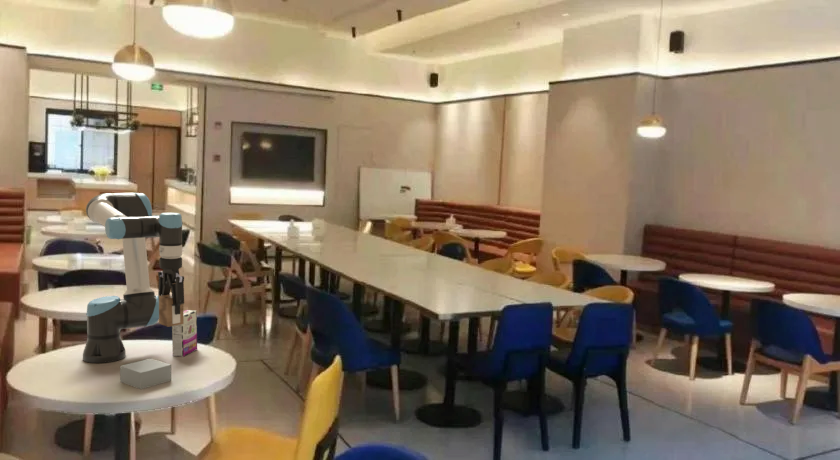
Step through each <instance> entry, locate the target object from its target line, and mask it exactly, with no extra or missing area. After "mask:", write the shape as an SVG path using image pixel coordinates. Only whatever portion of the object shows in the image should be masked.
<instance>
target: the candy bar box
mask: <svg viewBox="0 0 840 460" xmlns="http://www.w3.org/2000/svg"><path fill="white" fill-rule="evenodd" d="M197 315H198V314H197V310H191V309H186V310H183V319H184V324H181V325H175V326H171V331H172V332H171V337H172V338H171V342H172V344H171V345H172V356H173V357H181V358H184V357H185V356H188V355H190V354H191V353H193V352H195V351H197V350H198V329H197V328H198V323H197V322H198V321H197V318H198V317H197Z"/></svg>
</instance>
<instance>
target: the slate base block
mask: <svg viewBox="0 0 840 460" xmlns="http://www.w3.org/2000/svg"><path fill="white" fill-rule="evenodd" d="M119 376H120V379H119V381H120V383H122V384H125V385H128V386H131V387H133V388H136V389H140V390H144V389H148V388H150V387H154V386H157V385H161V384H163V383H164V384H165V383H167V382H170V381H172V364H170V363H167V362H164V361H161V360H158V359H153V358H152V357H151V358H146V359H143V360H138V361H135V362H134V361H133V362H130V363H127V364H122V365H120V366H119Z"/></svg>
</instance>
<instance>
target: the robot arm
mask: <svg viewBox="0 0 840 460" xmlns="http://www.w3.org/2000/svg"><path fill="white" fill-rule="evenodd" d="M85 213H86V216H87V218H89V220H90V221H92V222H93V223H94V224H95V223H96V224H98V225H99V224H100V225H102V226H103V227H104V229H105V235H106V237H107V238H108V239H110V240H122V250H123V251H122V252H123V263H124V274H125V282H126V283H125V285H126V291H125V292H124V293H123V294H122V299H121V298H120V296H118V295H107V296H101V297H97V298H94V299H92V300H90V301H89V302H88V303H87V305H86V333H87V339H86V342H85V346H84V349H83V352H82V361H84V362H86V363H90V364H91V363H92V364H104V363H105V364H106V363H111V362H116V361H120V360H122V359H124V358H126V354H127V353H126V352H127V351H126V348H125V345H124V342H123V340H122V338H121V331H122V330H125V329H126V330H127V329H134V328H143V327H144V328H146V327H149V326H155V324H158V323H159V296H162V295H169V294H172V298H173V304H172V324H175V323H180V305H181V304H183V305H184V304H185V288H184V287H185V286H184V282H185V276H184V275H180V271H179V270H180V269H181V268H183V257H182V256H183V217H182V214H181V213H179V212H161V213H160V214H155V215H153V208H152V203H151V201H150V199H149V197H148V196H147V194H145V193H143V192H140V193H139V192H114V193H113V192H112V193H111V192H105V193H104V192H103V193H101V194H97V195H95V196H94V197H92V198H90V200H89V201H88V203H87V204H86V206H85ZM146 238H158V239H159V241H158V243H159V248H158V251H159V256H160V258H159V262H158V263H159V268H160V269H162V270H161V271H157V275H158V289H157V290H158V295H155V290H153V288H151V287H150V286H151V285H150V284H151V283H150V275H149V264H148V255H147V254H148V253H147V244H146V243H147V241H146Z"/></svg>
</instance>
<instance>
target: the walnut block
mask: <svg viewBox="0 0 840 460" xmlns="http://www.w3.org/2000/svg"><path fill="white" fill-rule="evenodd" d="M172 304H173V298H172V293H170V294H169V295H162V296H159V320H158V324H159V325H162V326H165V327H167V328H168V327H169V328H170V327H172V326H175V325H181V324H184V319H183V311H184V304H181V305H180V323H175V324H172Z"/></svg>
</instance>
